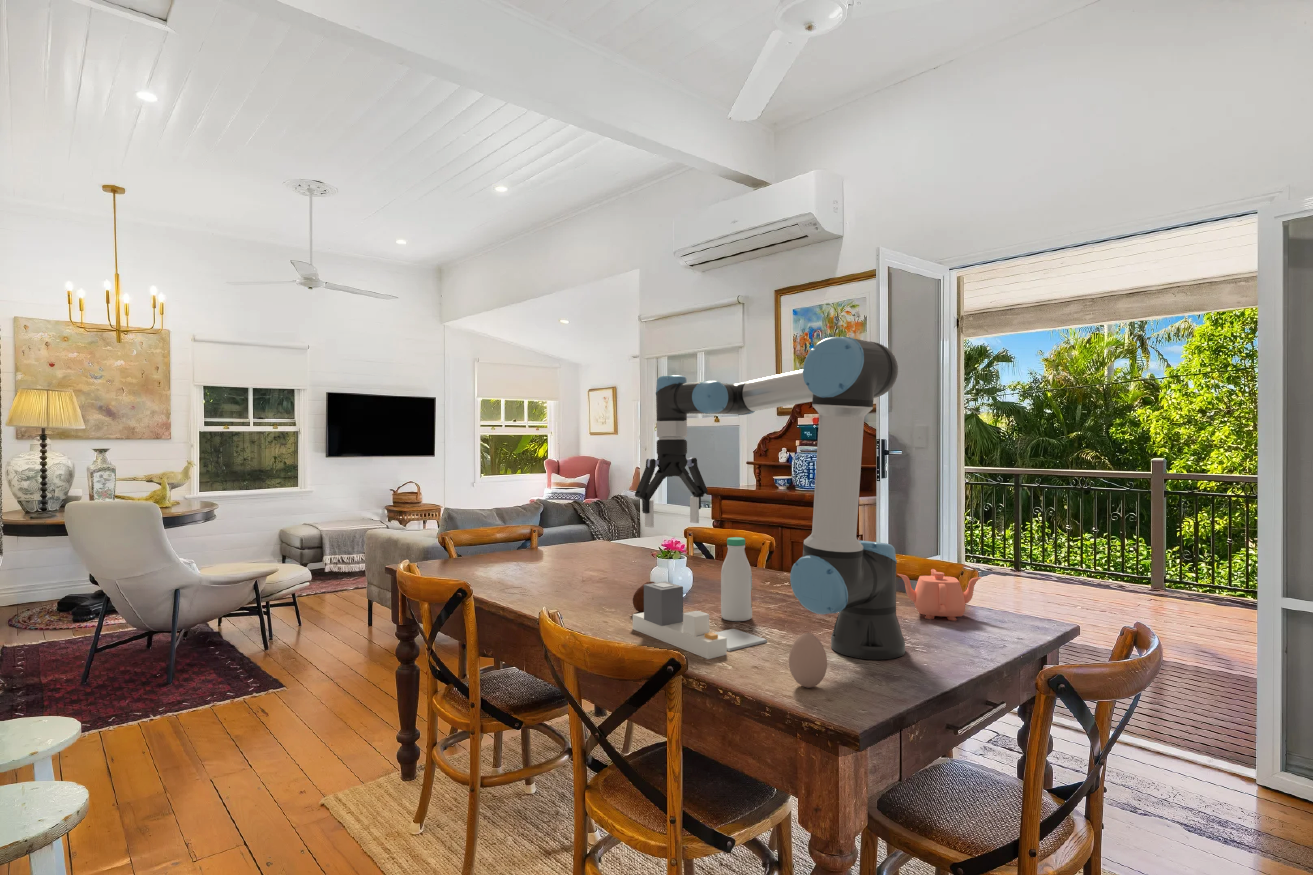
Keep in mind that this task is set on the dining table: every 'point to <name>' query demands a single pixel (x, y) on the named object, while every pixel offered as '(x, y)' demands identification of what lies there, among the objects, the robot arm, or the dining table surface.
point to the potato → (639, 598)
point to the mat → (740, 639)
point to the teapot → (939, 595)
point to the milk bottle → (736, 583)
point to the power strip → (683, 637)
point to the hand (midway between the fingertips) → (672, 524)
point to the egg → (808, 660)
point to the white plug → (695, 623)
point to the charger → (663, 603)
